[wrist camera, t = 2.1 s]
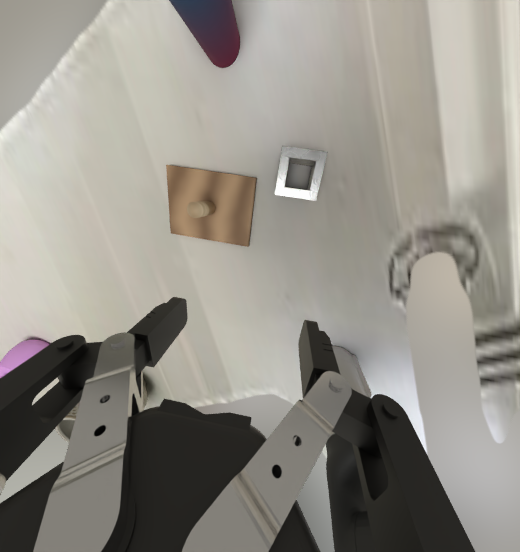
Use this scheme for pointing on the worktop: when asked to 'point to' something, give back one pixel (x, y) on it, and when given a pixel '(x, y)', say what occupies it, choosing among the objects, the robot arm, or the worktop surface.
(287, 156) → the collar
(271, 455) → the robot arm
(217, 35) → the cup
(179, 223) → the post board
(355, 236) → the worktop surface
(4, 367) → the teapot
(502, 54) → the worktop surface
